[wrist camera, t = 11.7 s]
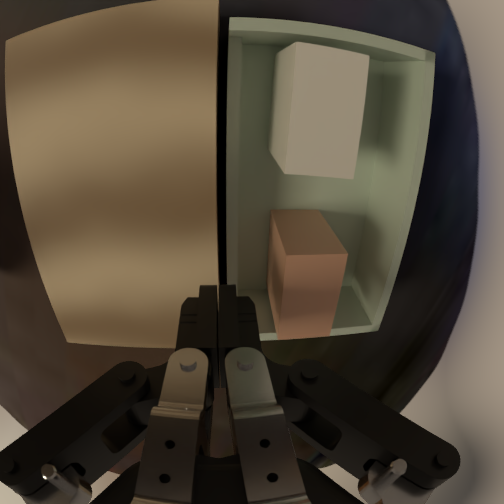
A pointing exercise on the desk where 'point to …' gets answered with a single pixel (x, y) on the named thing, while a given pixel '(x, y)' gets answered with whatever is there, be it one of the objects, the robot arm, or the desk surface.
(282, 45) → the tray
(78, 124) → the plate
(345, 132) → the white tile
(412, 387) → the desk surface
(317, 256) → the terracotta tile
